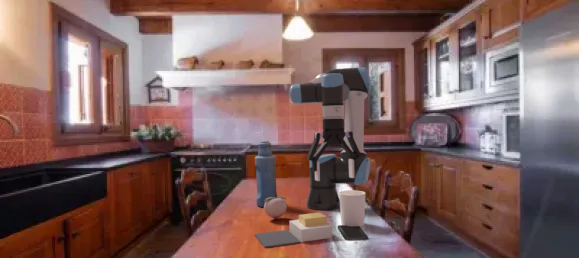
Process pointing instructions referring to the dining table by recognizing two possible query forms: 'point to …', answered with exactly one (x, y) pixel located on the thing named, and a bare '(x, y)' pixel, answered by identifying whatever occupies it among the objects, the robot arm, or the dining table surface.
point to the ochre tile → (312, 219)
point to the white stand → (310, 231)
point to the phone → (352, 232)
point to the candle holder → (352, 207)
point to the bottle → (265, 173)
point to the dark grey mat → (277, 238)
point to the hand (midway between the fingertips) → (334, 179)
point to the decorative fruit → (275, 206)
